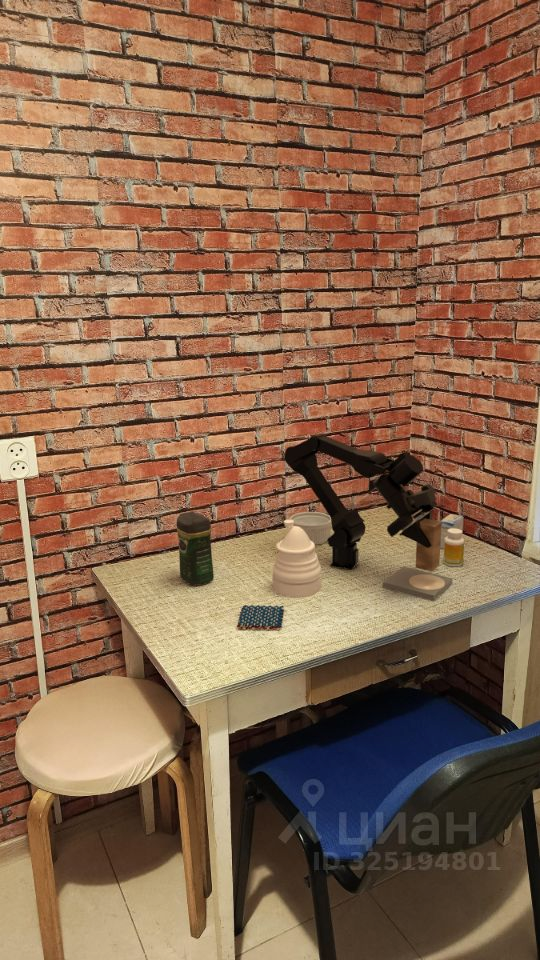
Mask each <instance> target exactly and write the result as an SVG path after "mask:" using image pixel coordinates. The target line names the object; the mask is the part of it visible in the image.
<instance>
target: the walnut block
mask: <svg viewBox="0 0 540 960" xmlns="http://www.w3.org/2000/svg"><path fill="white" fill-rule="evenodd" d="M441 521H442V520H434V519H432V520H431V519H426V518H425V519H423V520H422V521H420V528H421V529H422V531H423V532H424V534H425V536H426V537H427V539H428V540H429V542H430V544H431V546H430V547H429V548H427V547H425V546H423V545H421V544H419V543H417V542H416V545H415V546H416V549H415V568H414V569H418V570H419V569H420V570H422V571H426V572H428V571H429V572H430V573H432V572H434V571H435V570H436V569H437V568H438V567H440V558H441V557H440V556H441V548H440V544H441V527H442V522H441Z"/></svg>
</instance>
